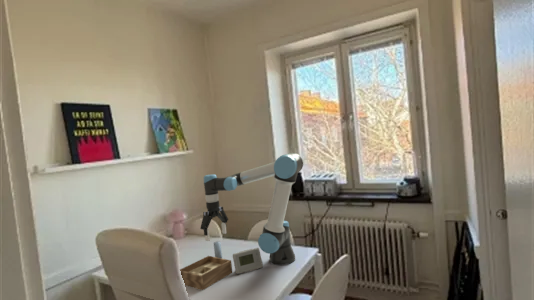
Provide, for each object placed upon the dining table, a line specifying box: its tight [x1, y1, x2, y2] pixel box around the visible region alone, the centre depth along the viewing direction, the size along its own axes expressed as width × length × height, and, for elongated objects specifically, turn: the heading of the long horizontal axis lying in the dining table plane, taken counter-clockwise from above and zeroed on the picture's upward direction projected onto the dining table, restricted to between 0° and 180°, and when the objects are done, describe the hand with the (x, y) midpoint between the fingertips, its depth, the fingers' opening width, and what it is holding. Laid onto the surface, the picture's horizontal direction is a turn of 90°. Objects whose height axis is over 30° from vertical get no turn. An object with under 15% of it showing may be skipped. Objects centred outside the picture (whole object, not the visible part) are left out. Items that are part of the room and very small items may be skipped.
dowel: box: [213, 240, 223, 259], centre depth 189 cm, size 4×4×14 cm
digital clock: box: [232, 247, 264, 275], centre depth 180 cm, size 16×9×11 cm, turn 102°
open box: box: [179, 255, 233, 291], centre depth 174 cm, size 18×22×7 cm
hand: (216, 236), depth 189 cm, fingers open, 13 cm apart
